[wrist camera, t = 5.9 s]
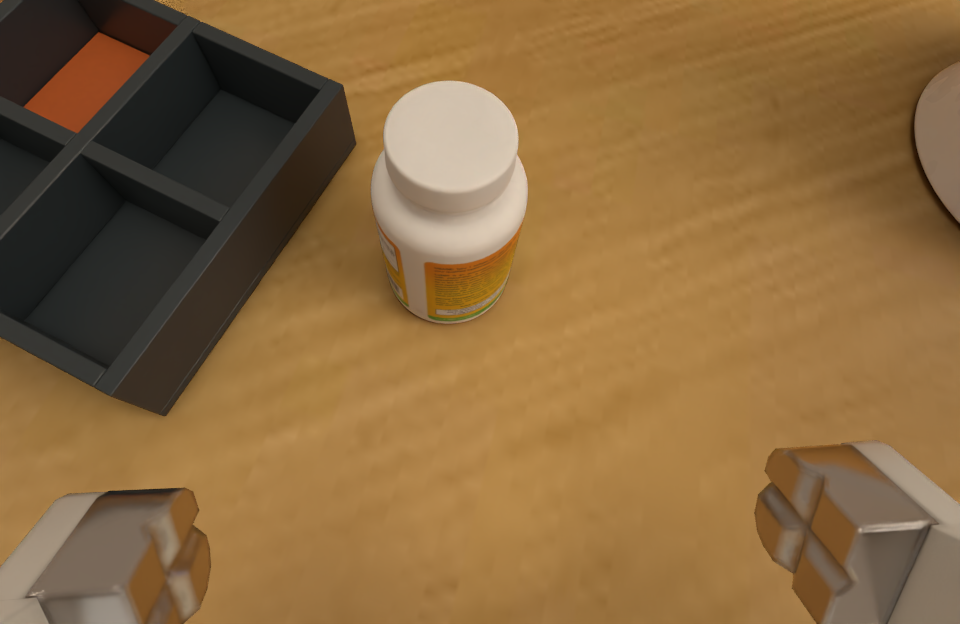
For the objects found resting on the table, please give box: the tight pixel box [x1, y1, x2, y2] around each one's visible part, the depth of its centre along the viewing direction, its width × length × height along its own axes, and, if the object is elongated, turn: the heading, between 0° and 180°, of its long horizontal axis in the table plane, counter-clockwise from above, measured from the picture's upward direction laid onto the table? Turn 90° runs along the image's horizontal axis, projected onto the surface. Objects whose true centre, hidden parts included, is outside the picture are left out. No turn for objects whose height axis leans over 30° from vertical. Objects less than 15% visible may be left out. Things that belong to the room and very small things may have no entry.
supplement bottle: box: [371, 81, 528, 324], centre depth 21 cm, size 5×5×10 cm
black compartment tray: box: [0, 0, 356, 416], centre depth 24 cm, size 15×15×4 cm
